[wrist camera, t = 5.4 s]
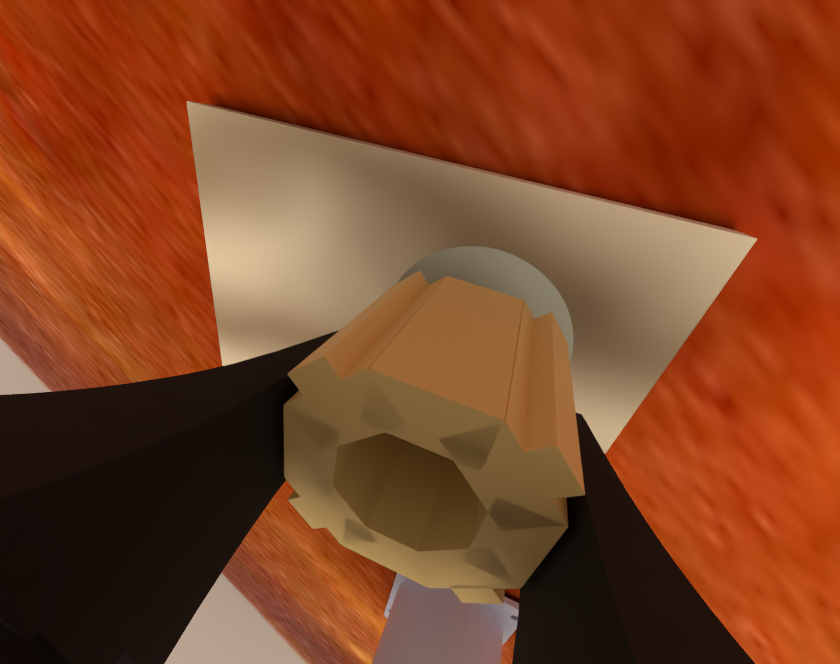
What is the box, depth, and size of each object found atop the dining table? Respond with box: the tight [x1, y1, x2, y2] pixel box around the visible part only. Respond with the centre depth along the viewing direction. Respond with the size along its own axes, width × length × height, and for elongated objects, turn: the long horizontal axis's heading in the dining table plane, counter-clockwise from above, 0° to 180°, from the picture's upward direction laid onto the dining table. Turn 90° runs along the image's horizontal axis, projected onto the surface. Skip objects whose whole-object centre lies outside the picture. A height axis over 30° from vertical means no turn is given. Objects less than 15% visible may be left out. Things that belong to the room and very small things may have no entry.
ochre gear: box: [283, 270, 585, 604], centre depth 9 cm, size 5×5×5 cm
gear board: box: [187, 101, 757, 454], centre depth 14 cm, size 18×18×5 cm
